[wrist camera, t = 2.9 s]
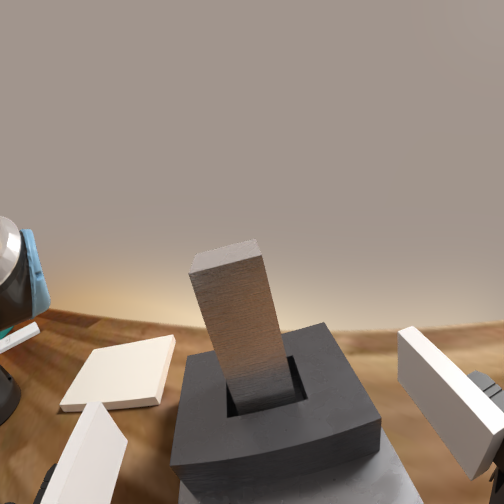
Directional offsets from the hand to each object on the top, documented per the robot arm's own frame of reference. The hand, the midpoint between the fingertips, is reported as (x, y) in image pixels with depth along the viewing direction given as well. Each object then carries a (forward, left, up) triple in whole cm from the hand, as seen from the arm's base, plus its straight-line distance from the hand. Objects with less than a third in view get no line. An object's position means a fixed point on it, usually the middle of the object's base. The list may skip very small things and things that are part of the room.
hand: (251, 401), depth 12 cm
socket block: (0, +7, -12) cm, 14 cm away
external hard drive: (-57, +44, -13) cm, 73 cm away
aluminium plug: (0, +10, -11) cm, 15 cm away
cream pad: (-19, +23, -12) cm, 32 cm away
